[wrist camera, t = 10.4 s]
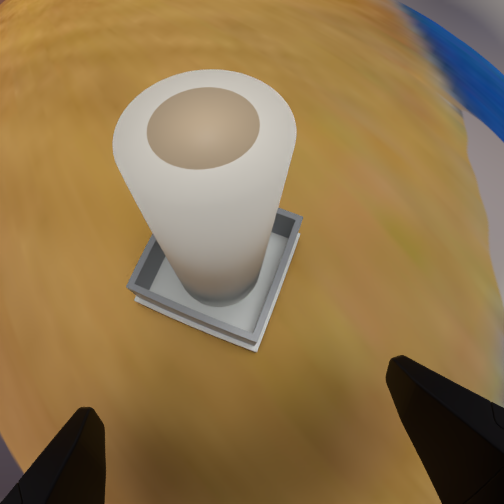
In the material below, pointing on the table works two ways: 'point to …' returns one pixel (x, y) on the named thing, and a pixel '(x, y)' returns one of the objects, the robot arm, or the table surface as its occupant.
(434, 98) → the table surface
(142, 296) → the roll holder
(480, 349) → the table surface
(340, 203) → the table surface
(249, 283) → the paper towel roll
